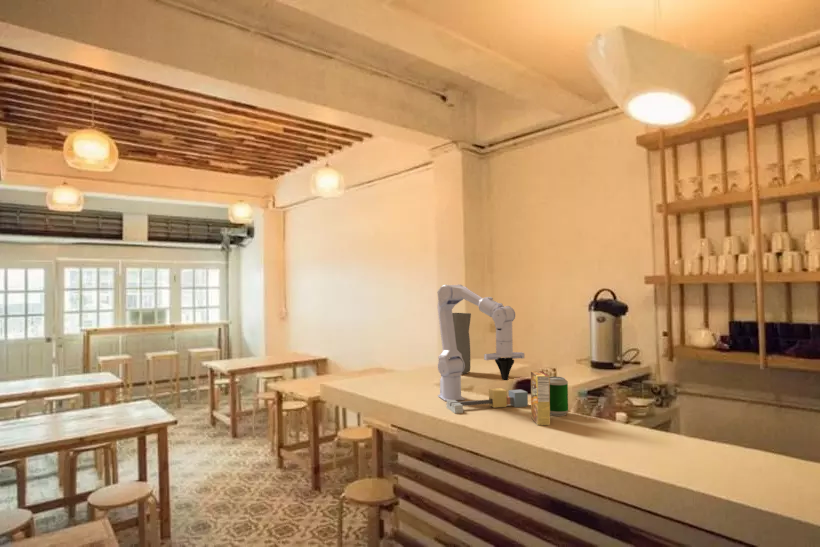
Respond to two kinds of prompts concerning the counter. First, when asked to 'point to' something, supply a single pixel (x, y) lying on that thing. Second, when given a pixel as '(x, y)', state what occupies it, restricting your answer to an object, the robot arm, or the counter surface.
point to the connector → (518, 398)
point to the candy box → (540, 397)
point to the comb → (454, 406)
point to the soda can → (558, 396)
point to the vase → (463, 337)
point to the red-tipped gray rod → (480, 402)
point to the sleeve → (498, 397)
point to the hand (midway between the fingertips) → (504, 379)
